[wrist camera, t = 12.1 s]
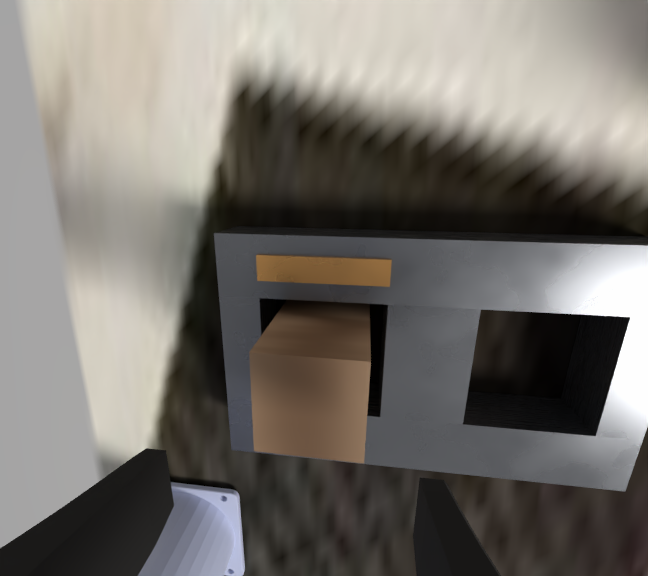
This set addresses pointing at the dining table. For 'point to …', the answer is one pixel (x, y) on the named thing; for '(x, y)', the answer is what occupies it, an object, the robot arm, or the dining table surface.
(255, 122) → the dining table surface
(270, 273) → the rail block
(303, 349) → the walnut block
